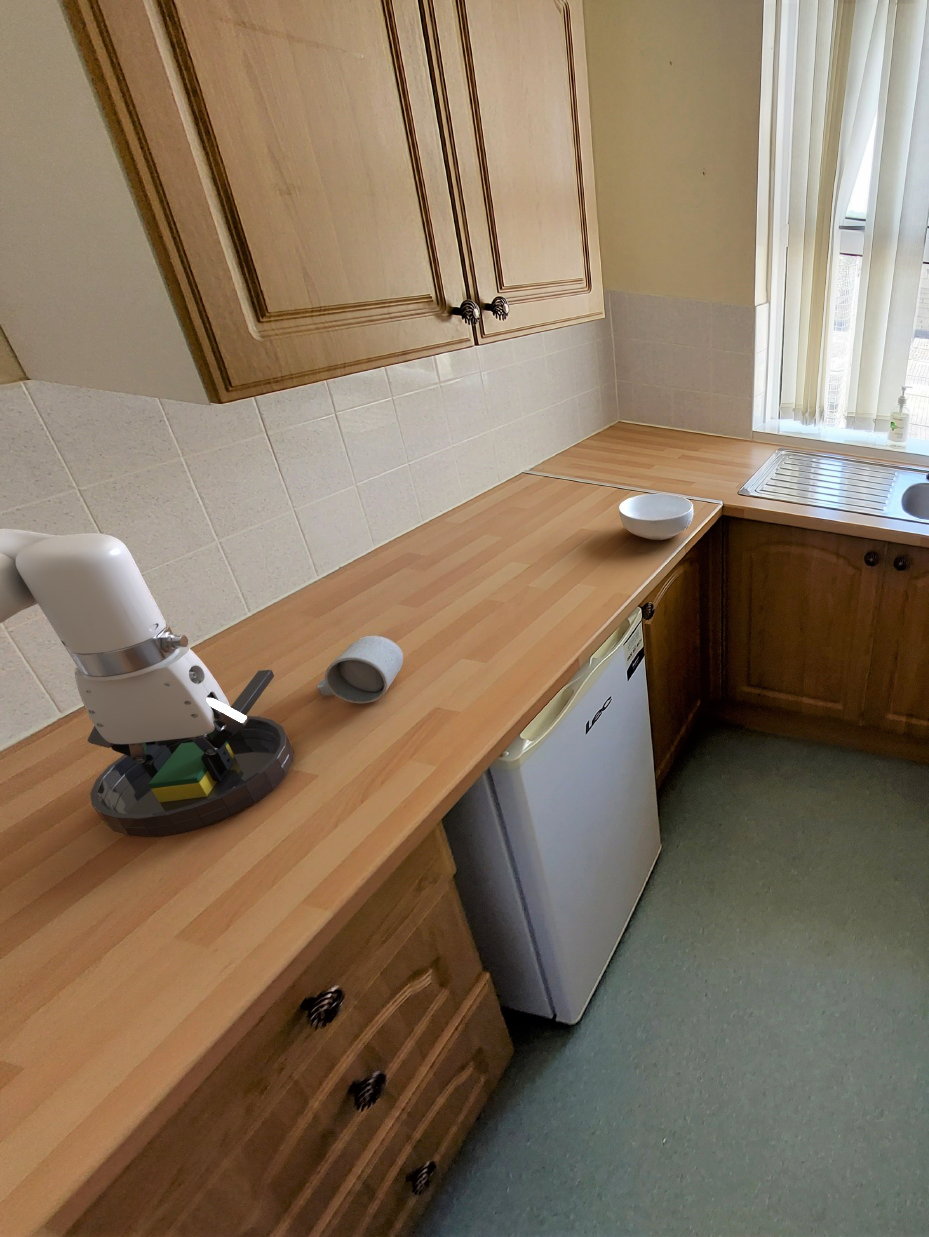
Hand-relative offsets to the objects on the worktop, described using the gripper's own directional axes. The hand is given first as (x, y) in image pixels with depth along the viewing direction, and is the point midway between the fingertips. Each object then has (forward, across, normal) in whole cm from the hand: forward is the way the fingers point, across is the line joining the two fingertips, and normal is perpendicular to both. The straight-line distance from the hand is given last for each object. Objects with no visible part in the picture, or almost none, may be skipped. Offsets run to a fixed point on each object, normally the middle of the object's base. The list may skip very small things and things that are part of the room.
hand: (196, 775), depth 77 cm
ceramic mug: (+1, -13, -17) cm, 21 cm away
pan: (+1, -1, 0) cm, 1 cm away
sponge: (+1, 0, 0) cm, 1 cm away
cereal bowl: (+1, -59, -70) cm, 92 cm away
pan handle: (-1, -1, -14) cm, 14 cm away
